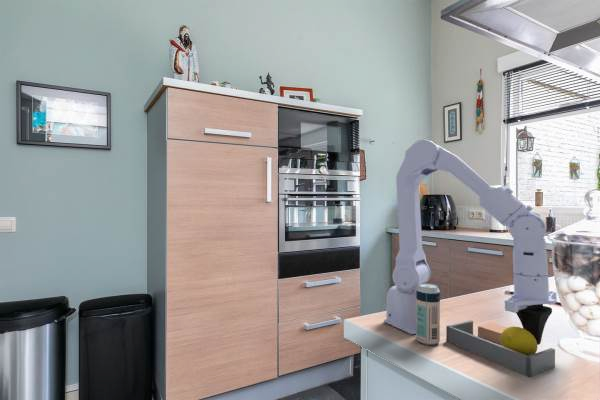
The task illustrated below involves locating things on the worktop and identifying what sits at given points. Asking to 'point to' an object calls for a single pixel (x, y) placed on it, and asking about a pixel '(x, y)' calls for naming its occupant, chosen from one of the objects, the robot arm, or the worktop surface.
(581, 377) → the worktop surface
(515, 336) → the lemon
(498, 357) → the fence
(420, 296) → the beer can
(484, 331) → the tile
